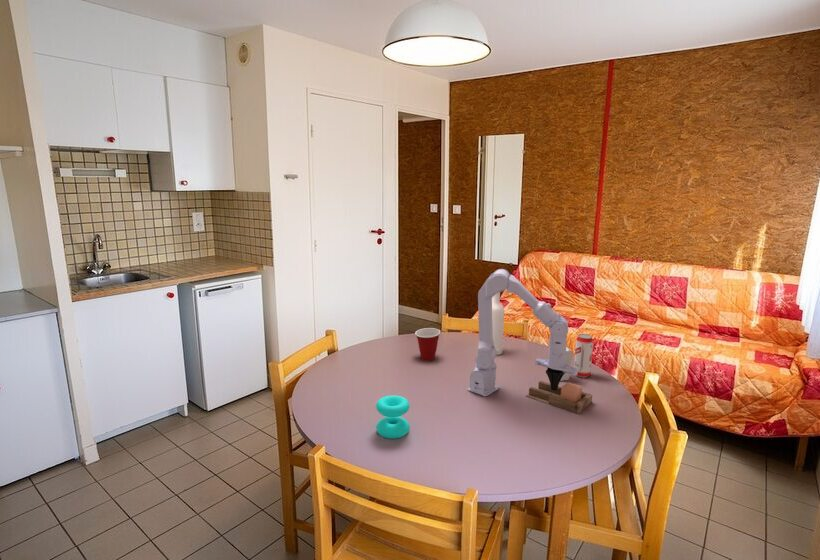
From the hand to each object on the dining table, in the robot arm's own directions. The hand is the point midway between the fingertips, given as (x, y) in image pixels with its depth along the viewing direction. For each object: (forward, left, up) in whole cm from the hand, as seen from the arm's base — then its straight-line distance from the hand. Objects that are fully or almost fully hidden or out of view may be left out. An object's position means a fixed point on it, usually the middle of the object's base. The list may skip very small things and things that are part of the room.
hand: (554, 389), depth 164 cm
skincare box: (+18, +6, -4) cm, 19 cm away
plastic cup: (-1, +57, -4) cm, 57 cm away
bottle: (+24, +40, -4) cm, 47 cm away
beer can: (+26, +1, -4) cm, 26 cm away
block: (0, -6, -3) cm, 7 cm away
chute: (0, -2, -3) cm, 4 cm away
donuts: (-54, +26, -4) cm, 60 cm away
